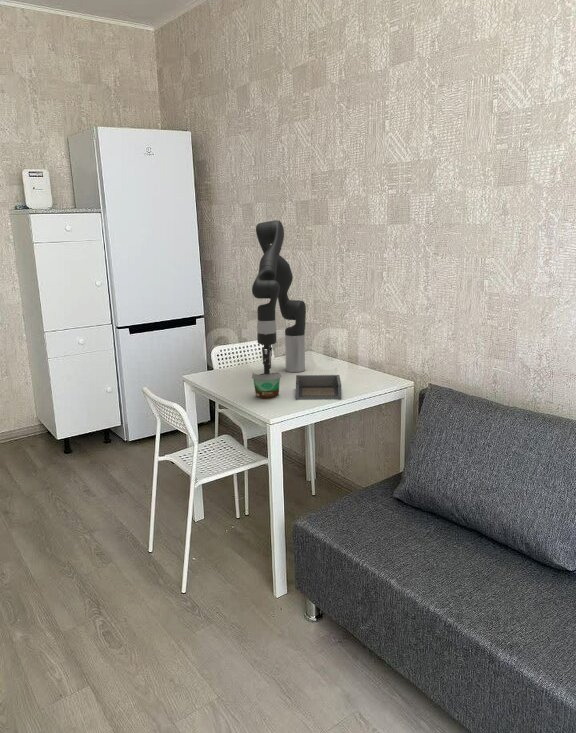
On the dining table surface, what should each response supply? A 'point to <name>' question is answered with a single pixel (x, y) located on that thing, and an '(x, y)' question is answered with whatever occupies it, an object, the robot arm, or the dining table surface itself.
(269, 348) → the robot arm
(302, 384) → the keeper cradle
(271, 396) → the food container
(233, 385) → the dining table surface
